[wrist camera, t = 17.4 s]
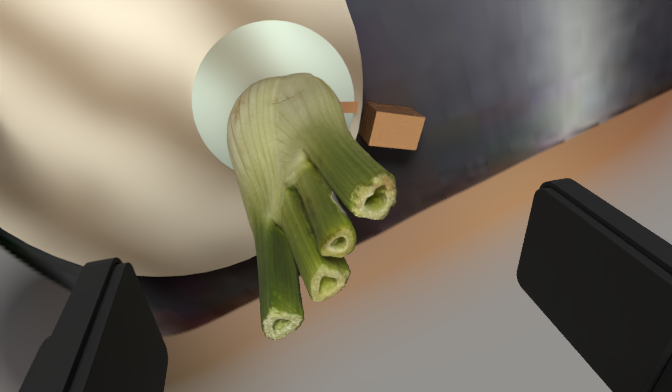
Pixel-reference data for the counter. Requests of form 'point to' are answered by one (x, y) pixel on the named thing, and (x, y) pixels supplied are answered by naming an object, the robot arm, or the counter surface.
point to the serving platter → (148, 120)
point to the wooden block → (391, 126)
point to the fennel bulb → (301, 191)
